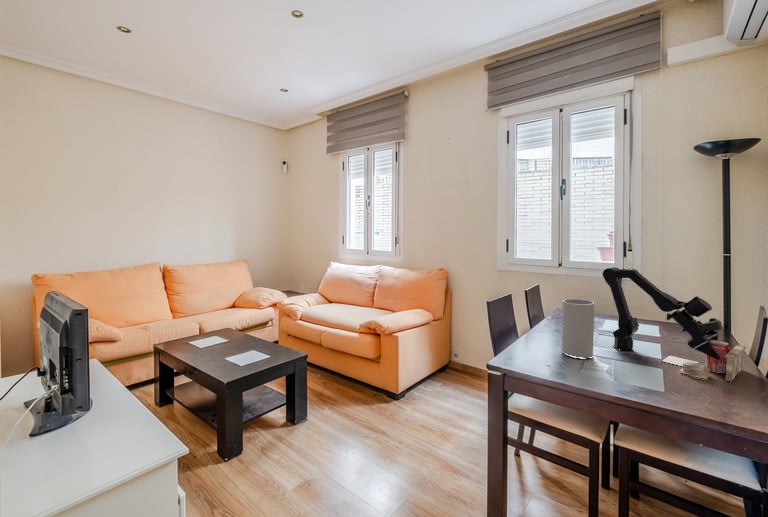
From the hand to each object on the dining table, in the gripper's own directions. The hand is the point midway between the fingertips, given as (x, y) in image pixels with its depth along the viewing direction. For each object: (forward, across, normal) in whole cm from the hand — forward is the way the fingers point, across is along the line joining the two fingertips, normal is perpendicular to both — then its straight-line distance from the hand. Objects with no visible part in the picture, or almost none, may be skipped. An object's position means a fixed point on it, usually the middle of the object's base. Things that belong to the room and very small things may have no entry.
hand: (722, 356), depth 138 cm
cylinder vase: (-26, -24, +36) cm, 51 cm away
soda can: (+4, 0, +6) cm, 7 cm away
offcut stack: (+1, -11, +9) cm, 14 cm away
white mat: (-5, 0, +14) cm, 15 cm away
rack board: (+7, 0, +2) cm, 7 cm away
